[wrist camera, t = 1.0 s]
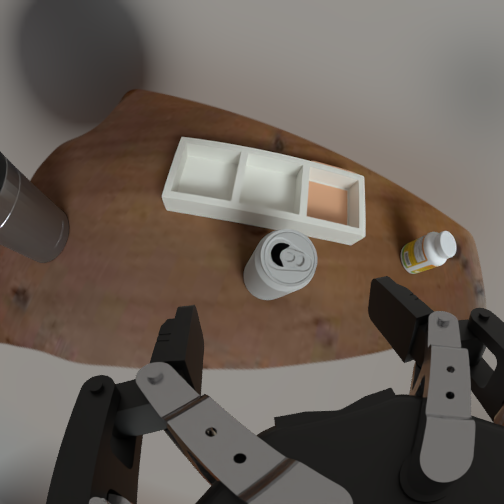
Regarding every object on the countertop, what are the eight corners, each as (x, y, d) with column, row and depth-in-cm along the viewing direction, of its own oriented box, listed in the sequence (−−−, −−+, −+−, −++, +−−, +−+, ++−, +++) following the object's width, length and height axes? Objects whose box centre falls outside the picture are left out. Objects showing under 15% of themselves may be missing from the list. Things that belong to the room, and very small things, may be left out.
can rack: (166, 210, 38) (161, 196, 34) (184, 151, 41) (182, 134, 36) (350, 245, 40) (365, 236, 36) (351, 186, 43) (363, 174, 39)
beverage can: (251, 248, 38) (268, 215, 27) (294, 263, 39) (327, 238, 27) (236, 291, 36) (247, 276, 25) (281, 306, 37) (311, 299, 25)
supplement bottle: (425, 256, 42) (462, 241, 33) (415, 280, 41) (454, 268, 31) (406, 237, 43) (442, 218, 33) (395, 261, 41) (433, 245, 32)
